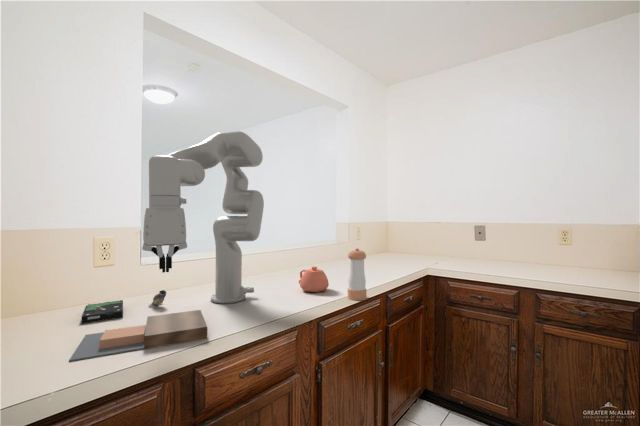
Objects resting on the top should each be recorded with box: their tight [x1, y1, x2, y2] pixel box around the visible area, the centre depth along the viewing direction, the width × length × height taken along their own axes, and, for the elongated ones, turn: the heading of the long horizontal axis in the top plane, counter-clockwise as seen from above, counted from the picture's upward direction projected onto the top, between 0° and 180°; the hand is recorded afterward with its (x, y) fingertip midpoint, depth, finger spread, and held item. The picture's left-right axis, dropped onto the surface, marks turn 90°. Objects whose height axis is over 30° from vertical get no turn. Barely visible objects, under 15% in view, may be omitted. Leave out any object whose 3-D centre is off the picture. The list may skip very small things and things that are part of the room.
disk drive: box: [81, 299, 124, 324], centre depth 97 cm, size 10×3×15 cm
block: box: [99, 324, 146, 349], centre depth 76 cm, size 9×7×2 cm
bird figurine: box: [148, 290, 167, 308], centre depth 106 cm, size 5×5×6 cm
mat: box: [68, 331, 145, 363], centre depth 75 cm, size 14×16×1 cm
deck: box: [143, 309, 208, 350], centre depth 82 cm, size 14×16×3 cm
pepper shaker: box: [347, 248, 367, 301], centre depth 118 cm, size 7×7×19 cm
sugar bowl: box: [298, 266, 329, 293], centre depth 131 cm, size 12×14×10 cm
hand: (165, 271), depth 81 cm, fingers closed
